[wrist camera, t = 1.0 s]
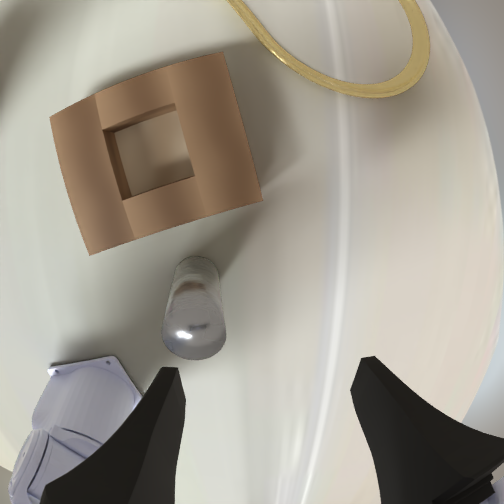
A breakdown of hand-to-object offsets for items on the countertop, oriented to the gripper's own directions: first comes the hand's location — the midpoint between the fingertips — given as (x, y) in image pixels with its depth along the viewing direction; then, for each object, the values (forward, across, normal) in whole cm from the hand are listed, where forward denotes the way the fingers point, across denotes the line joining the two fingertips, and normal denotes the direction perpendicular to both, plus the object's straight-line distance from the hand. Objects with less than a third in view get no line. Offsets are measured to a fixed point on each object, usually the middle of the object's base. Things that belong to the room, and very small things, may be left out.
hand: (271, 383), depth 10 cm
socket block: (+13, +7, -8) cm, 17 cm away
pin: (+12, +4, +2) cm, 13 cm away
